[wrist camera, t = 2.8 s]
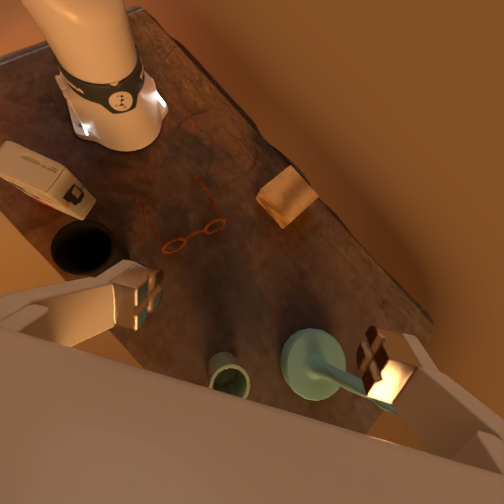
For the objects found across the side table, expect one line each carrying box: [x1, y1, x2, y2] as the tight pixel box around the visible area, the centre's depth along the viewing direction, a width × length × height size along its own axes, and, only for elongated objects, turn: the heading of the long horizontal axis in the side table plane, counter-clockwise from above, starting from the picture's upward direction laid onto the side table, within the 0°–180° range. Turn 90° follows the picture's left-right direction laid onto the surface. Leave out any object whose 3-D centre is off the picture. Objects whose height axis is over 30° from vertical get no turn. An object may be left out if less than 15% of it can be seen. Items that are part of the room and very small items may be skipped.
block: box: [256, 165, 319, 229], centre depth 52 cm, size 9×9×5 cm
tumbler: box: [207, 352, 250, 399], centre depth 40 cm, size 6×6×10 cm
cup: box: [51, 220, 130, 276], centre depth 38 cm, size 8×8×12 cm
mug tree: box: [280, 328, 399, 416], centre depth 36 cm, size 12×12×25 cm
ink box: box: [0, 141, 96, 220], centre depth 39 cm, size 9×5×12 cm, turn 68°
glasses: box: [135, 175, 226, 254], centre depth 46 cm, size 13×13×5 cm
